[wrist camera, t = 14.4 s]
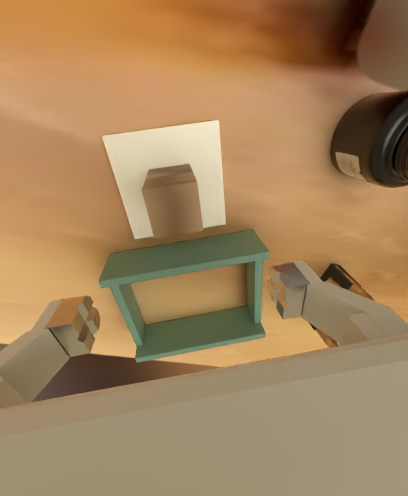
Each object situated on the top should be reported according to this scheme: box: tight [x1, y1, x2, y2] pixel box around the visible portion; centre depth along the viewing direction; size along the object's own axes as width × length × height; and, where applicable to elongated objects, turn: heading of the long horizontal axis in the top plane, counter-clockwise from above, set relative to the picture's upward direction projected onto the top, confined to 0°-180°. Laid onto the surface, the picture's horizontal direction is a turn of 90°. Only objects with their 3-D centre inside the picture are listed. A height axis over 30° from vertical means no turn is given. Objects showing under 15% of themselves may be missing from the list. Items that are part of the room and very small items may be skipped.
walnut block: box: [142, 164, 203, 239], centre depth 22 cm, size 4×4×8 cm
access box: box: [99, 230, 269, 362], centre depth 32 cm, size 20×16×6 cm
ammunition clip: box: [309, 264, 374, 348], centre depth 34 cm, size 11×2×12 cm, turn 161°
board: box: [102, 120, 226, 239], centre depth 26 cm, size 12×12×1 cm
